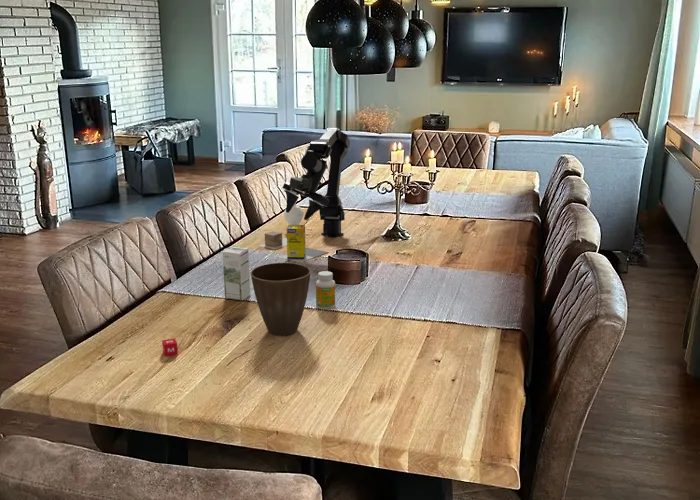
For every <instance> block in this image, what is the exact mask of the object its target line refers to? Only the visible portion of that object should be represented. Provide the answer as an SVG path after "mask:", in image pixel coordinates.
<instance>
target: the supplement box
mask: <svg viewBox="0 0 700 500" xmlns="http://www.w3.org/2000/svg"><path fill="white" fill-rule="evenodd" d="M286 238H287V246H286V254H287V259H304V257H305V248H306V225H305V224H299V225H289V224H288V226H287V227H286ZM287 259H286V260H287Z"/></svg>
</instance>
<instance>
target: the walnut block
mask: <svg viewBox="0 0 700 500" xmlns="http://www.w3.org/2000/svg"><path fill="white" fill-rule="evenodd" d="M282 238H283V232H280V231H275V230H273V231H269V232H265V233H264V244H265V245H266V246H270V247H277V246H280V245H282Z"/></svg>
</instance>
